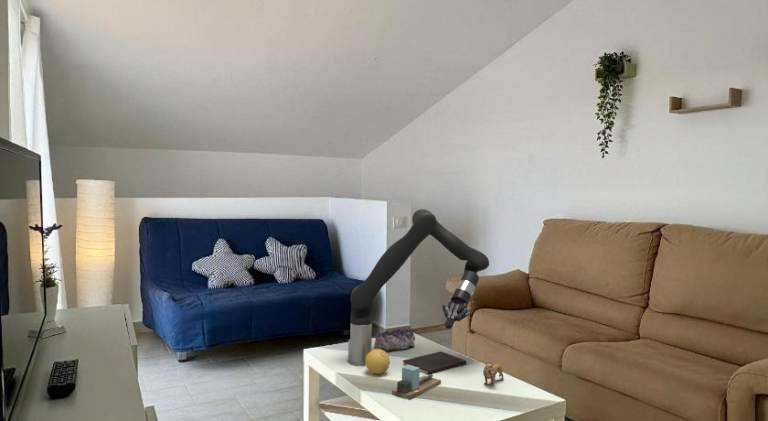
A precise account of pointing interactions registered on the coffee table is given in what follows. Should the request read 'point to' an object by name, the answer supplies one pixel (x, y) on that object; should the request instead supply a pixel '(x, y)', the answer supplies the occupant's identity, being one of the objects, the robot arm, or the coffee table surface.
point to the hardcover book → (435, 362)
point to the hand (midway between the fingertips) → (447, 327)
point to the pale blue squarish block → (411, 376)
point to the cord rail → (424, 385)
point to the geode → (394, 340)
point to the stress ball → (377, 361)
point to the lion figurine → (492, 373)
